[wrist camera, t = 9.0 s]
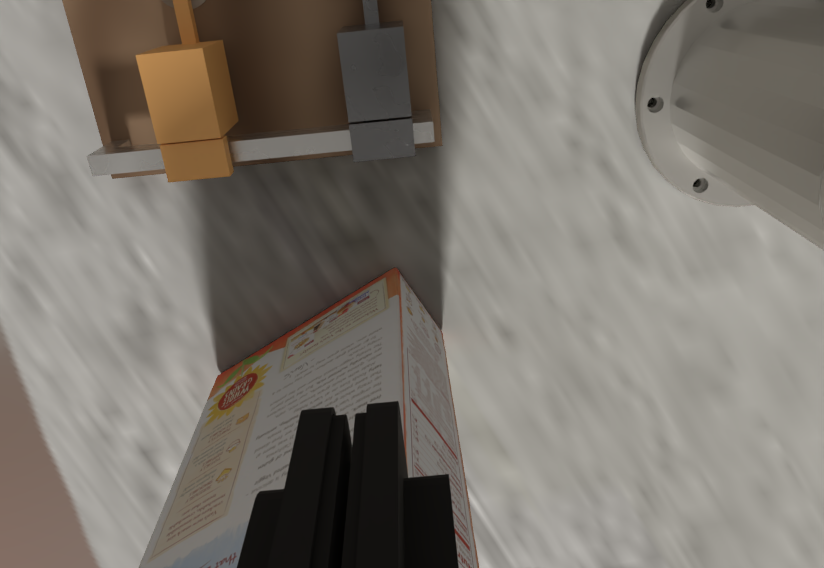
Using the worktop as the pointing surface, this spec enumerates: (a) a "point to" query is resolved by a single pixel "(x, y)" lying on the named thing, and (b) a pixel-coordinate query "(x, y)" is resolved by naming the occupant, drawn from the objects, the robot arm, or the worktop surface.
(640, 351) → the worktop surface
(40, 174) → the worktop surface
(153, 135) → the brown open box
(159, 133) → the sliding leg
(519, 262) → the worktop surface
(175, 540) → the cracker box
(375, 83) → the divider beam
